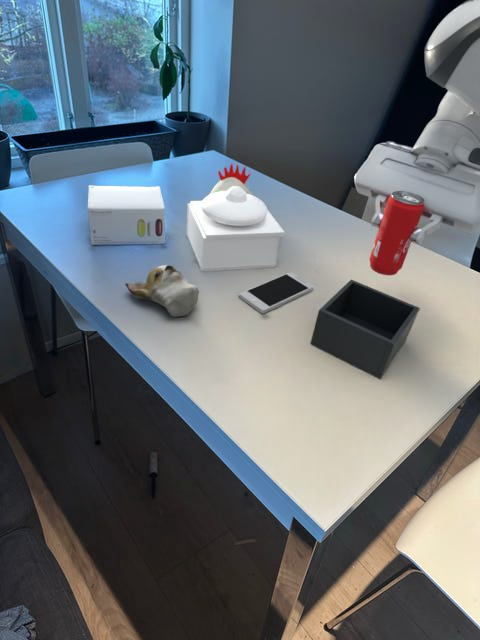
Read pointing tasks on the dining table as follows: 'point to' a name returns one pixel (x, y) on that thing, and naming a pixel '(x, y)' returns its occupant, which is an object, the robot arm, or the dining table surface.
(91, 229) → the supplement box
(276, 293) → the smartphone
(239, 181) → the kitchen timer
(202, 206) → the butter dish
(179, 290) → the ceramic sculpture
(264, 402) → the dining table surface
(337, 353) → the bin
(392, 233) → the beverage can
